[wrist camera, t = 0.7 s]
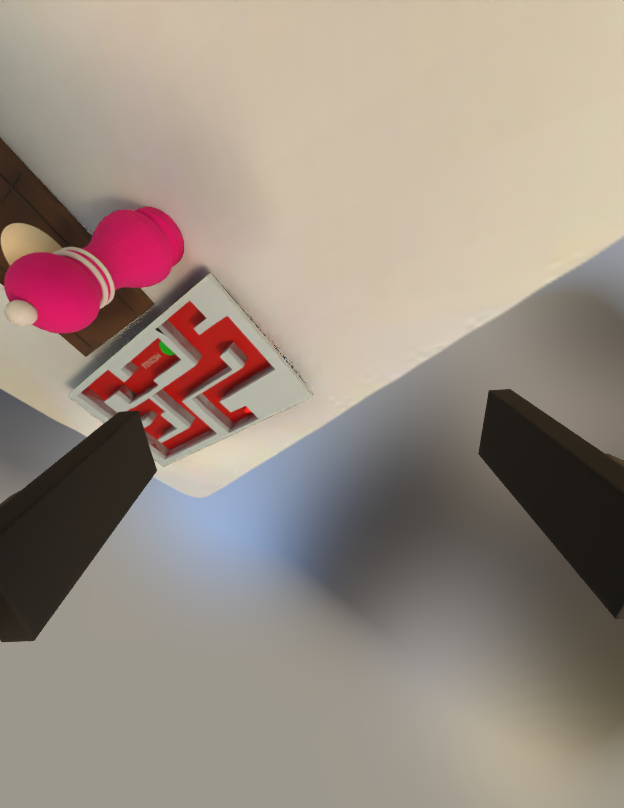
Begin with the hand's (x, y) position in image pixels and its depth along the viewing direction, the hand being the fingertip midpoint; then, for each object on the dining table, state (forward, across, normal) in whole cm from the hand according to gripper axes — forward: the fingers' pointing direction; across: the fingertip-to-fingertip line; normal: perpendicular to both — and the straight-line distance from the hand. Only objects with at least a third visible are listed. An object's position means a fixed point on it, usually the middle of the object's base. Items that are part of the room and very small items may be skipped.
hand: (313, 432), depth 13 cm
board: (+34, -33, +8) cm, 48 cm away
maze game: (+37, -20, -11) cm, 44 cm away
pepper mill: (+31, -17, +9) cm, 37 cm away
